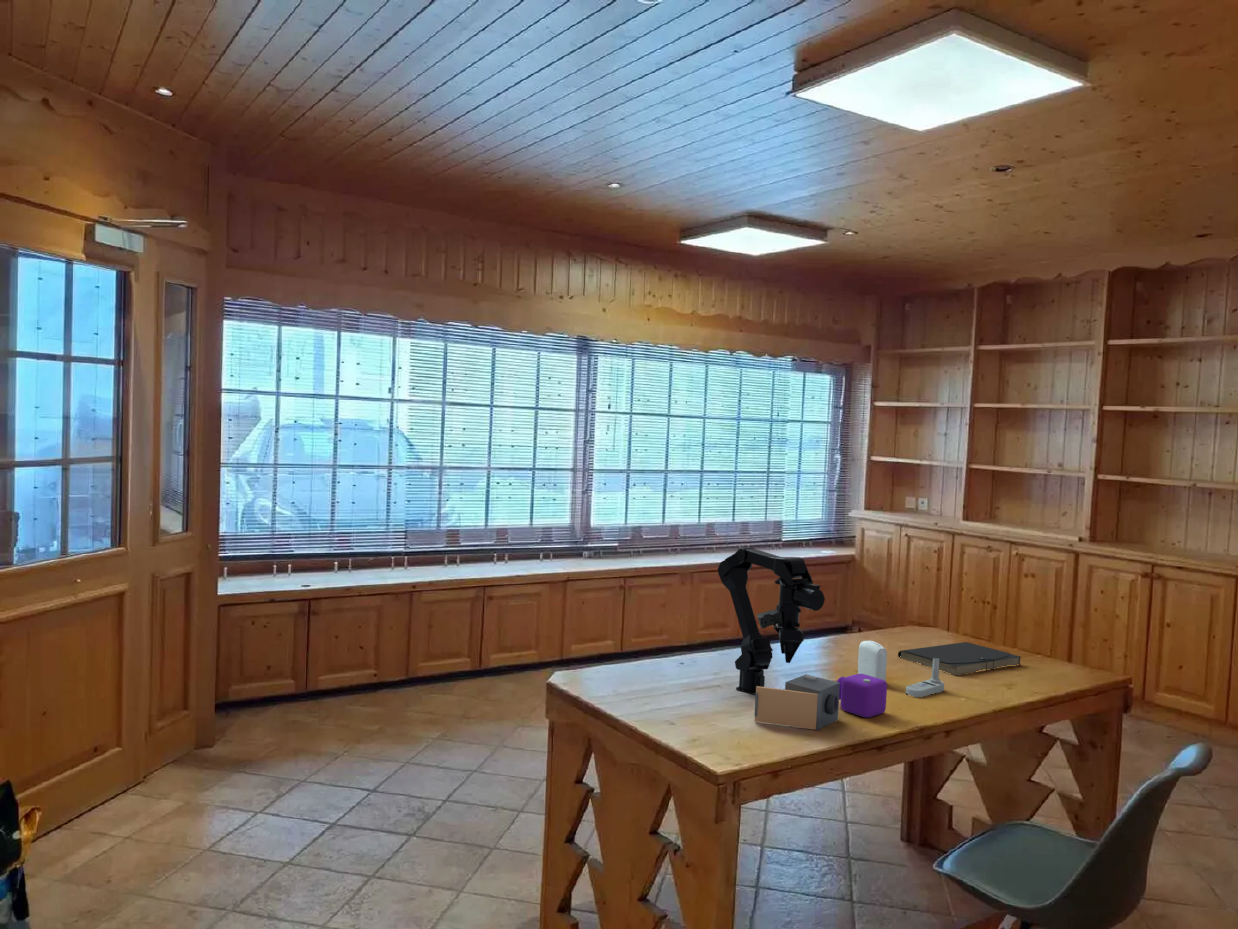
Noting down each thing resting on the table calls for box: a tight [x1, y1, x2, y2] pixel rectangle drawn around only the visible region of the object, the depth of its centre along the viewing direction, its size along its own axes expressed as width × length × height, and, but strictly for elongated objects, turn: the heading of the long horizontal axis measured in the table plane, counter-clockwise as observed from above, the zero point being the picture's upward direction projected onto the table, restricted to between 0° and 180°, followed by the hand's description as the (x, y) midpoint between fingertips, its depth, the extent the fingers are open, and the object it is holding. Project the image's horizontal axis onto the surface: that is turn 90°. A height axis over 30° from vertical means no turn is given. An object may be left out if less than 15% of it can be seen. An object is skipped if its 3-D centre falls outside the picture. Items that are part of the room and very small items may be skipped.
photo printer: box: [857, 640, 888, 682], centre depth 267 cm, size 10×4×12 cm, turn 20°
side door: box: [754, 686, 822, 731], centre depth 223 cm, size 17×2×9 cm, turn 74°
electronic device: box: [905, 658, 945, 698], centre depth 258 cm, size 5×10×15 cm
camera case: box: [784, 674, 840, 729], centre depth 228 cm, size 11×11×11 cm
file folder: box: [897, 641, 1022, 676], centre depth 296 cm, size 33×4×24 cm
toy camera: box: [836, 673, 888, 719], centre depth 238 cm, size 11×14×10 cm
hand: (785, 658), depth 241 cm, fingers open, 9 cm apart
